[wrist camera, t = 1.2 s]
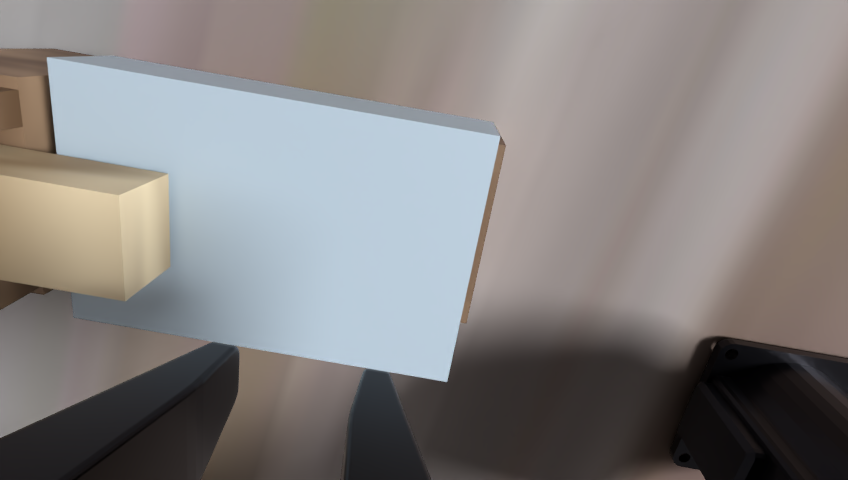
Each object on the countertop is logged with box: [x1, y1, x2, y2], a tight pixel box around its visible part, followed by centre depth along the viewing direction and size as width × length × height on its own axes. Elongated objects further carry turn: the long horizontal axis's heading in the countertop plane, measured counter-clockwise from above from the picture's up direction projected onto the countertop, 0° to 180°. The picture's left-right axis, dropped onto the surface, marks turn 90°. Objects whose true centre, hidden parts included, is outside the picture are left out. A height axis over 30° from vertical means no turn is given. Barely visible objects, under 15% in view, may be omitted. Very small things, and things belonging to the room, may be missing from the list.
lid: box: [47, 56, 500, 382], centre depth 15 cm, size 11×7×2 cm, turn 81°
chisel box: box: [0, 49, 506, 323], centre depth 15 cm, size 16×6×8 cm, turn 81°
